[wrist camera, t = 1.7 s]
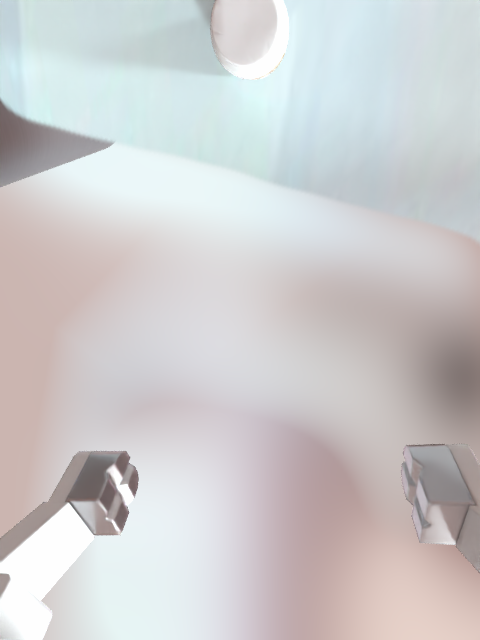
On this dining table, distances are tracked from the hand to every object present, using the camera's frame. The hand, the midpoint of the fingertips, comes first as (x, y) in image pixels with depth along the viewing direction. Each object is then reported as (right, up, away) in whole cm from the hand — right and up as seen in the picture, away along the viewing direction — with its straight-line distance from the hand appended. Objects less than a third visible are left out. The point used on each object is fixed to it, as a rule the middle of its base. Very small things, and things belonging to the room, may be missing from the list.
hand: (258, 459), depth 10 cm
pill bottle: (0, +23, +13) cm, 27 cm away
